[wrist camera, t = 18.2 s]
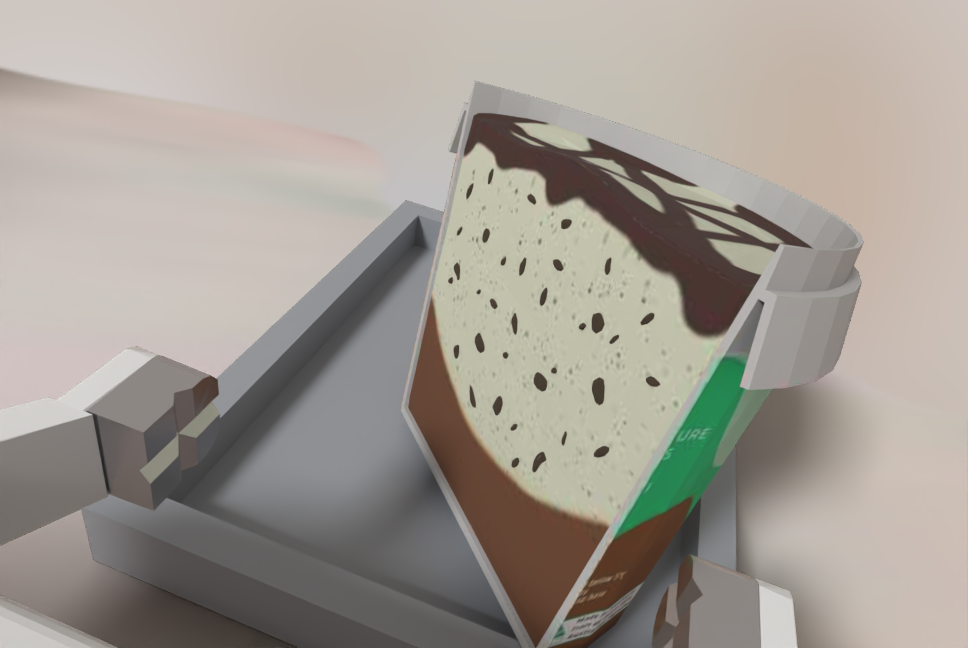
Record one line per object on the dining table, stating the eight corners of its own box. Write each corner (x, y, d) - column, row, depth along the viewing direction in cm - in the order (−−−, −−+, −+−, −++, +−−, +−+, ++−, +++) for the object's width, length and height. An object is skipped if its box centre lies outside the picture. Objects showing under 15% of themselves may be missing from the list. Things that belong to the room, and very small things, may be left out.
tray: (93, 559, 17) (80, 506, 15) (401, 238, 32) (406, 200, 31) (699, 819, 14) (736, 780, 13) (717, 342, 30) (735, 304, 29)
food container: (784, 678, 16) (1041, 297, 12) (568, 739, 13) (814, 261, 9) (541, 386, 26) (639, 121, 22) (386, 383, 23) (466, 76, 19)
